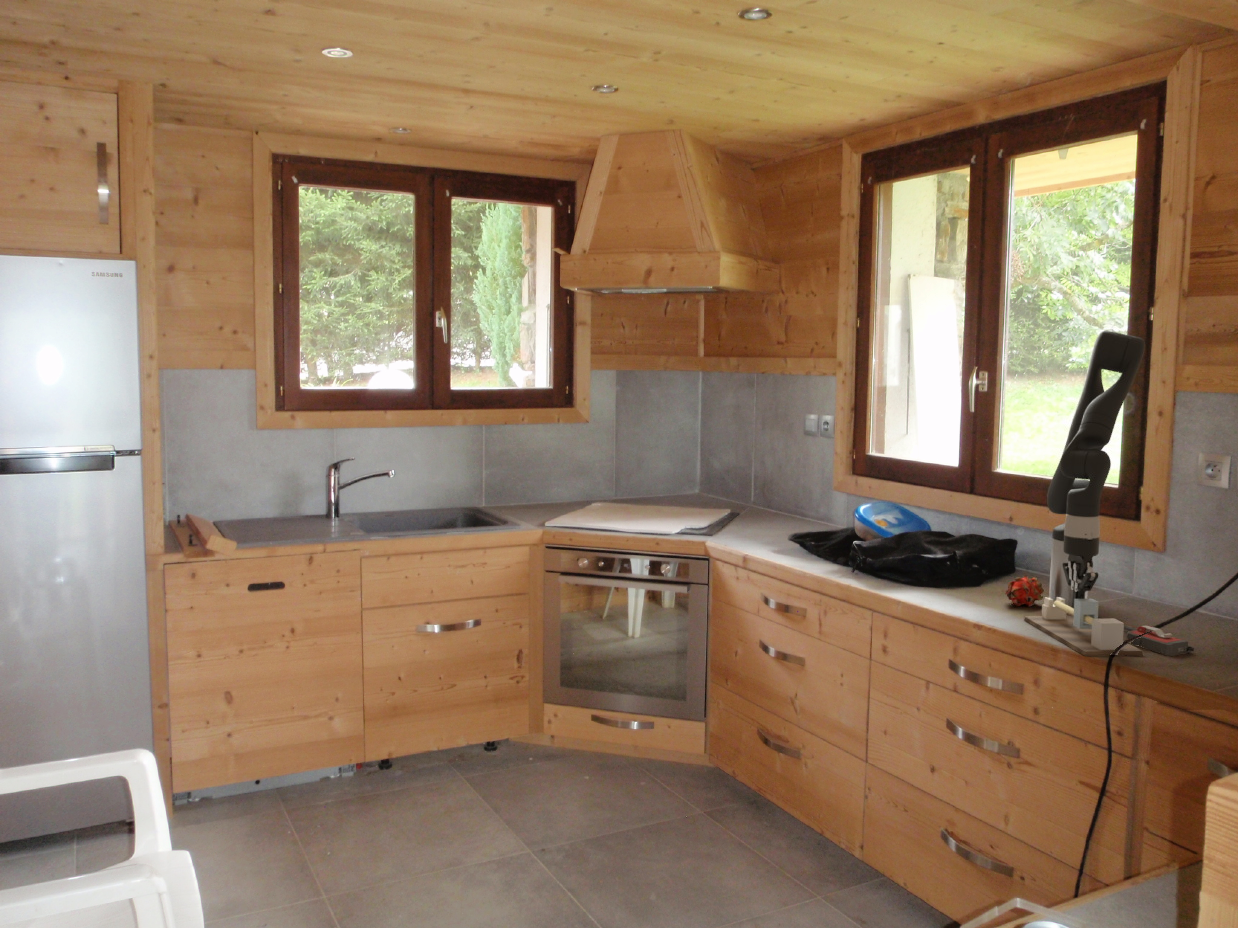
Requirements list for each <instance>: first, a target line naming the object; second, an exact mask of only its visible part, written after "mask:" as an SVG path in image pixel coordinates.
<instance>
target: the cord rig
mask: <svg viewBox="0 0 1238 928" xmlns="http://www.w3.org/2000/svg"><path fill="white" fill-rule="evenodd" d="M1067 614H1068V615H1070V616H1074V607H1073V606H1068V605H1066V604H1065V599H1063V598H1061V597H1056V601H1055V602H1054V603H1053V599H1051V598H1049V596H1048V597H1047V596H1046V597H1044V599H1043V604H1041V616H1042V617H1043V618H1044V619H1046V620H1048V619H1066V616H1067ZM1083 621H1084V622H1086V623H1088V624H1090V625H1092V638H1091V645H1092V646H1094V647H1096V648H1098V649H1099V650H1115V649H1116V648H1117V647H1119V646H1120V645H1122V644H1123V641H1124V625H1125V623H1124V622H1122V621H1120V620H1118V619H1116V618H1098V619H1093V618H1091V617H1089V616H1088V615H1084V617H1083ZM1121 650H1123V648H1122V649H1121Z"/></svg>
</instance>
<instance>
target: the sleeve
mask: <svg viewBox="0 0 1238 928" xmlns="http://www.w3.org/2000/svg"><path fill="white" fill-rule="evenodd" d="M1099 605H1100V601H1098V600H1096V599H1093V598H1087V599H1074V606H1073V608H1074V618H1073V626H1075V627H1077V628H1078V629H1092V625H1090V624H1088V623H1086V622H1083V617H1084V615H1088V616H1089V617H1091V618H1093V619H1099V608H1100V607H1099Z"/></svg>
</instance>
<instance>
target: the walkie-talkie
mask: <svg viewBox="0 0 1238 928" xmlns="http://www.w3.org/2000/svg"><path fill="white" fill-rule="evenodd" d="M1124 630H1125V631H1127V632H1126V633H1127V634H1126V640H1127V639H1131V638H1133V637H1136V636H1139V635H1142V634H1144V633H1147V632H1150V631H1151V632H1150V633H1148V634H1145V635H1143V636H1141V638H1138V639H1135V640H1134V641H1133V642H1131V644H1130V645H1132V644H1133V645H1132V646H1135V645H1139V646H1142V647H1144V648H1143V649H1146V650H1149V649H1150V650H1149V651H1151V650H1153V652H1156V653H1159V654H1161V653H1162V655H1164V656H1171V657H1173V656H1177V655H1184V654H1188V653H1189V652H1194V651H1195V647H1192V646H1190V645H1189V642H1188V641H1186V640H1184V639H1180V638H1176V637H1173V634H1172V633H1170V632H1169V633H1164V631H1163V630H1162V628H1161V629H1160V628H1158V627H1153V626H1150V625H1141V626H1138V627H1137V628H1134V627H1131V626H1128V625H1125V624H1124ZM1139 646H1138V647H1139ZM1142 647H1141V648H1142Z"/></svg>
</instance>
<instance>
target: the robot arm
mask: <svg viewBox="0 0 1238 928" xmlns="http://www.w3.org/2000/svg"><path fill="white" fill-rule="evenodd" d="M1145 350H1146V343H1145V340H1144V339H1143V338H1142V337H1139V336H1135V335H1129V334H1125V333H1119V332H1117V331H1110V330H1103V331H1101V332H1100V333H1098V334H1097V336H1096V339H1095V340H1094V344H1093V347H1092V350H1091V353H1090V358H1089V362H1088V366H1087V371H1086V375H1085V379H1084V383H1083V388H1082V392H1081V394H1080V397H1079V400H1078V404H1077V406H1076V409H1075V412H1074V415H1073V416H1072V417H1073V418H1072V421H1071V423H1070V427H1069V431H1068V434H1067V439H1066V442H1065V444H1064V445H1065V446H1064V449H1063V452H1062V455H1061V457H1060V459H1059V462H1058V463H1057V464H1058V465H1057V468H1056V470H1055V472H1054V474H1053V476H1052V478H1051V481H1050V484H1049V486H1048V489H1047V495H1046V504H1047V507H1048V510H1049V511H1050V512H1051V513H1052V514H1055V515H1056V514H1057V515H1065V520H1064V522H1063V523H1062V524H1059V525H1056V526H1055V527H1053V528H1052V529H1053V530H1052V534H1051V535H1052V536H1051V538H1052V539H1051V558H1050V560H1051V561H1050V572H1049V590H1048V591H1049V592H1048V597H1049V598H1051V599H1053V604H1054V602H1055V601H1056V597H1061V598H1063V599H1065V604H1066V605H1068V606H1070V607H1074V599H1088V592H1090V591H1092V589H1093V587H1094V585H1095V583H1096V582H1097V580H1098V578H1099V573H1098V572H1094V569H1093V567H1094V561H1093V558H1094V557H1096V556H1098V555H1099V551H1100V535H1101V534H1100V531H1101V522H1100V509H1101V508H1100V507H1101V497H1102V493H1103V490H1104V486H1105V484H1106V481H1107V478H1108V476H1109V473H1110V470H1111V466H1112V464H1111V463H1112V462H1111V459H1110V455H1109V454H1108V453H1107V452H1106V451H1105V450H1103V448H1104V447H1106V445H1108V444H1109V442H1110V441H1111V438H1112V434H1113V431H1114V429H1115V424H1116V422H1117V418H1118V416H1119V413H1120V410H1121V409H1122V406H1123V404H1124V402H1125V399H1126V398H1127V396H1128V394H1129V391H1130V389H1131V387H1132V385H1133V383H1134V381H1135V377H1136V376H1137V374H1138V372H1139V368H1140V367H1141V364H1142V360H1143V357H1144V355H1145V354H1144V353H1145ZM1104 370H1105V371H1109V372H1114V373H1119V374H1120V376H1119V377H1118V379H1117V380H1116V382H1114V384H1112V385H1111V386H1110V387H1109V388H1108V389H1106V390H1105V388H1104V384H1103V377H1102V375H1103V373H1102V371H1104Z"/></svg>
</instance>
